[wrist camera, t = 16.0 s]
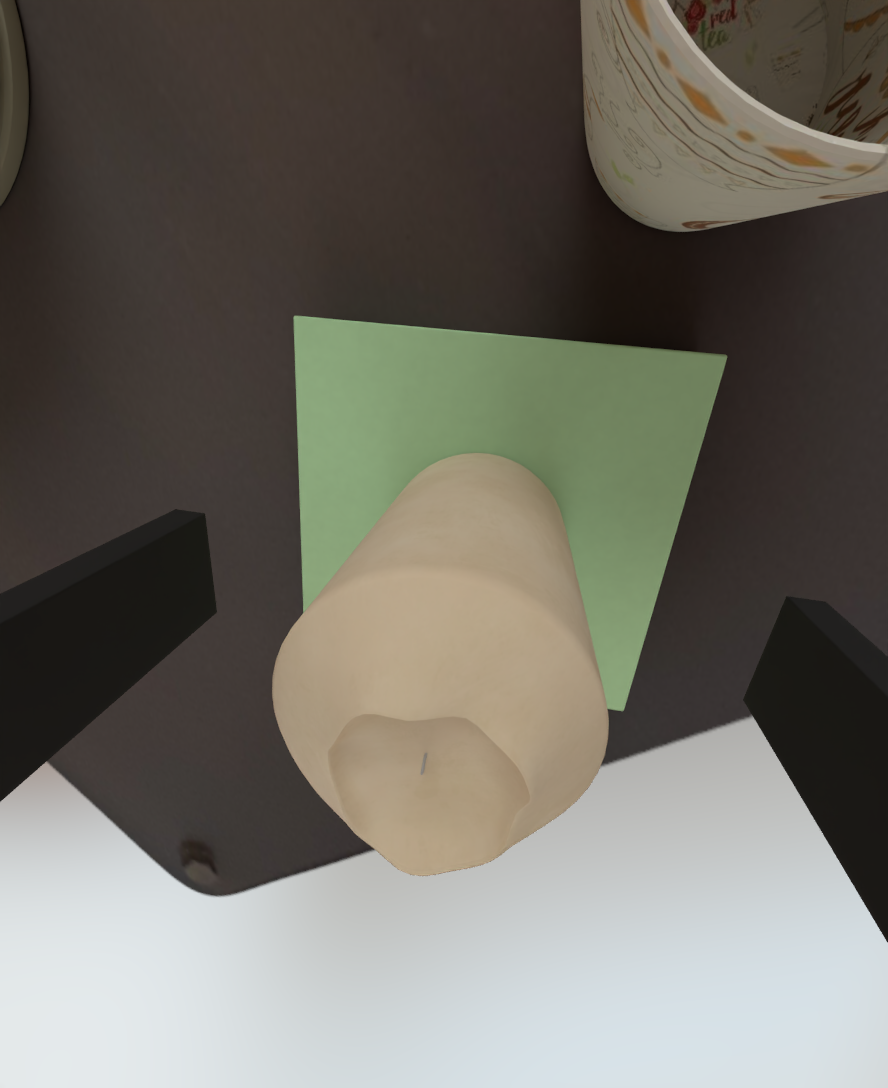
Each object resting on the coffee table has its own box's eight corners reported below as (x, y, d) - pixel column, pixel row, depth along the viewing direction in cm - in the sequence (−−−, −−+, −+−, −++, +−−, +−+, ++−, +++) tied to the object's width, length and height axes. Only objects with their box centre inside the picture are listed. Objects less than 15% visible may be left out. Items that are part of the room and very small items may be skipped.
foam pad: (697, 353, 15) (728, 354, 13) (611, 669, 20) (624, 712, 17) (324, 319, 16) (292, 315, 14) (328, 624, 21) (304, 658, 19)
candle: (370, 475, 15) (151, 667, 6) (542, 428, 14) (581, 585, 5) (422, 622, 17) (311, 937, 8) (580, 592, 16) (658, 929, 7)
